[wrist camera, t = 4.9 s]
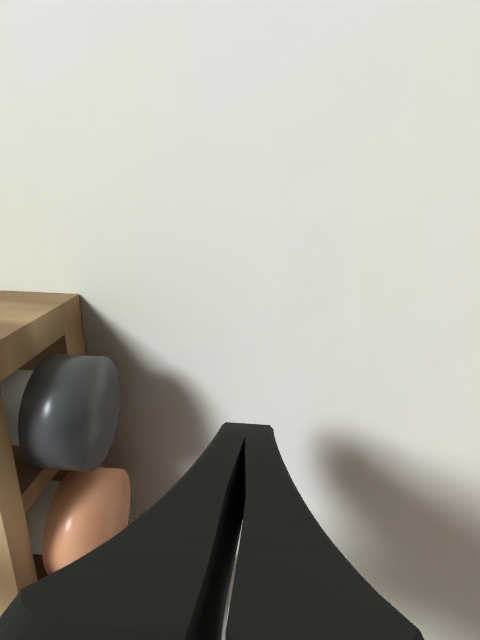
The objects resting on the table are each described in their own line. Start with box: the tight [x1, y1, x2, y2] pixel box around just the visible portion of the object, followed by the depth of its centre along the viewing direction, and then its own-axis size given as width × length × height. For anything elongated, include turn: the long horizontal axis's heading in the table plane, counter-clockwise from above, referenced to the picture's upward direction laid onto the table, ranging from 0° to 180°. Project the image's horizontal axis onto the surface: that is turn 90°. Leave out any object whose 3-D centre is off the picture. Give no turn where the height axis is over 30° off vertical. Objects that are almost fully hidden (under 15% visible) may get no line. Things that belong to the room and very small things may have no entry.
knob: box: [0, 354, 121, 472], centre depth 14 cm, size 4×6×4 cm, turn 89°
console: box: [0, 291, 86, 617], centre depth 15 cm, size 15×4×6 cm, turn 179°
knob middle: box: [25, 467, 131, 575], centre depth 15 cm, size 4×6×4 cm, turn 89°
